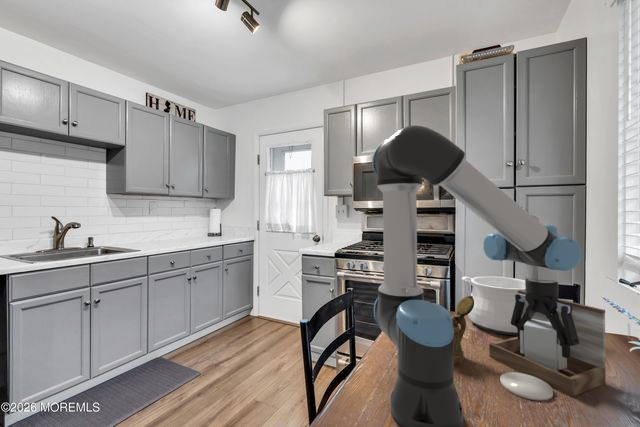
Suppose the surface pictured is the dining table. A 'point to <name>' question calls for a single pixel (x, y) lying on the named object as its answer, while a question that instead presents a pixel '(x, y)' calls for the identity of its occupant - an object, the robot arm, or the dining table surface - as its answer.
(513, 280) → the pot
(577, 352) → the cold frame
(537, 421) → the dining table surface
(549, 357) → the supplement box
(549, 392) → the saucer
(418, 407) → the robot arm
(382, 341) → the dining table surface
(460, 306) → the wooden mug
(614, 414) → the dining table surface
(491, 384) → the dining table surface
